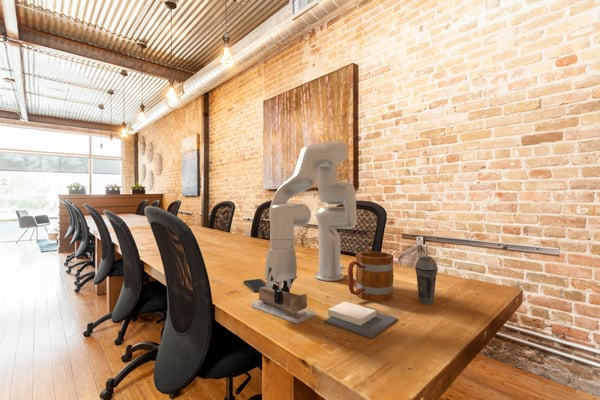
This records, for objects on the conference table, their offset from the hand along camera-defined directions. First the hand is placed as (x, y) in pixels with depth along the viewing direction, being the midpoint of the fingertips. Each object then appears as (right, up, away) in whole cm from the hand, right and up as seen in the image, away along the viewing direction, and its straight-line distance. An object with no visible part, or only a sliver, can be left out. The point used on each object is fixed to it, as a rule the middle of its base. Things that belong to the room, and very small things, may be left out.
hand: (281, 301), depth 94 cm
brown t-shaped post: (0, -1, 0) cm, 1 cm away
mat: (+23, -3, -7) cm, 25 cm away
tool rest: (0, -3, 0) cm, 3 cm away
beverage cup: (+49, -3, +9) cm, 50 cm away
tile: (+17, -1, -2) cm, 17 cm away
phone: (-11, -3, +26) cm, 29 cm away
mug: (+30, -3, +13) cm, 33 cm away
